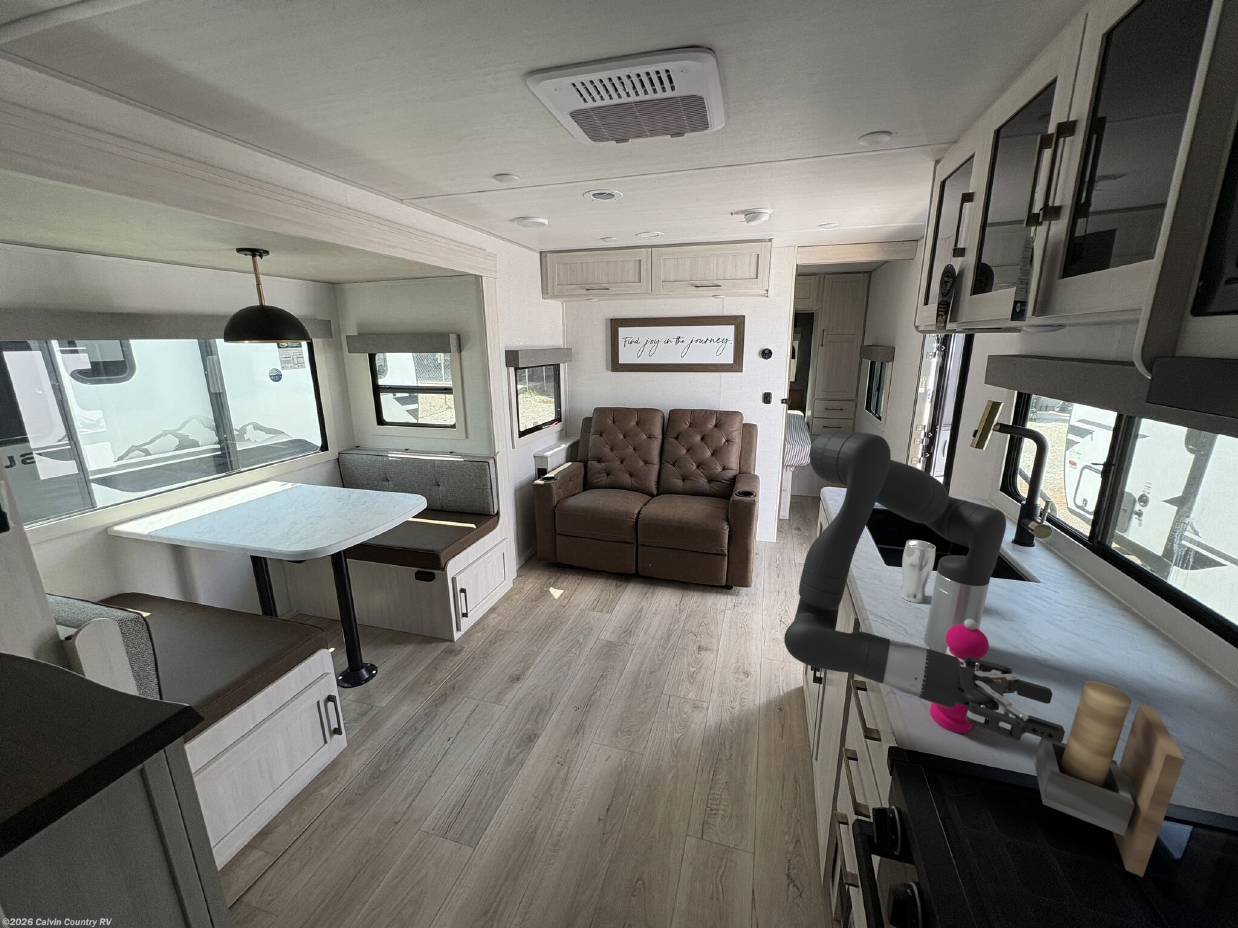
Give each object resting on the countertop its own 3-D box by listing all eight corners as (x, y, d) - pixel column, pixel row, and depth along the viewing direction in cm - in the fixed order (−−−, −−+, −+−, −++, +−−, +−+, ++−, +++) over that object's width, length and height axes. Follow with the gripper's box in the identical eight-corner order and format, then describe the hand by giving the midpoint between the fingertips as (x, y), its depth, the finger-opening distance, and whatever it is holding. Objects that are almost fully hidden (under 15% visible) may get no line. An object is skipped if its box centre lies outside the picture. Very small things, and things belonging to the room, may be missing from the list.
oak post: (1052, 771, 70) (1080, 676, 67) (1093, 786, 68) (1125, 689, 64) (1058, 794, 67) (1088, 695, 63) (1102, 811, 65) (1136, 709, 61)
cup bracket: (1027, 779, 75) (1054, 679, 71) (1119, 814, 69) (1154, 708, 65) (1037, 832, 67) (1069, 722, 62) (1142, 876, 61) (1184, 759, 57)
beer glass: (926, 606, 125) (937, 552, 121) (895, 598, 128) (904, 546, 124) (926, 595, 130) (936, 543, 127) (897, 588, 134) (905, 537, 130)
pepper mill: (929, 699, 92) (948, 603, 87) (976, 717, 87) (999, 618, 82) (923, 721, 86) (943, 621, 81) (973, 742, 82) (997, 637, 77)
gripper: (923, 676, 69) (1075, 724, 60) (925, 628, 80) (1053, 663, 72) (914, 721, 71) (1061, 774, 62) (917, 668, 82) (1041, 706, 74)
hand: (1056, 714), depth 67 cm, fingers open, 8 cm apart
